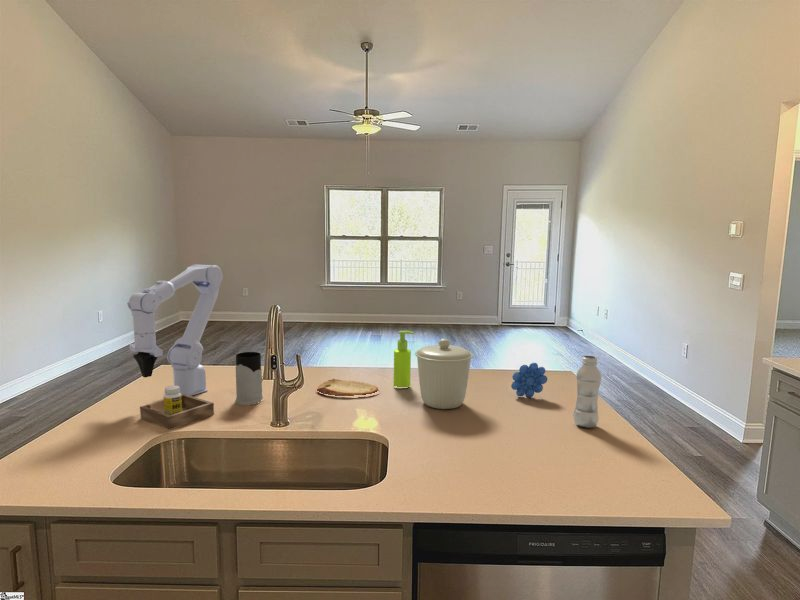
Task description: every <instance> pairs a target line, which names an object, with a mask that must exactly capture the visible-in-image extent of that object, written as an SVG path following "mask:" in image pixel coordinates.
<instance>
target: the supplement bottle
mask: <svg viewBox="0 0 800 600" xmlns="http://www.w3.org/2000/svg"><path fill="white" fill-rule="evenodd" d="M182 411H183V407H182V399H181V393H180V387H179V386H174V385H169V386H165V387H164V394H163V413H165V414H168V415H172V414H176V413H179V412H182Z"/></svg>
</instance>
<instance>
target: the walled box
mask: <svg viewBox="0 0 800 600" xmlns="http://www.w3.org/2000/svg"><path fill="white" fill-rule="evenodd" d="M181 399H182V408H187V407H188V408H187V409H186V410H182V412H179V413H176V414H172V415H168V414H165V413H164V412H162V411H159V410H156V409H154V408H152V407H151V404H145V405H142V406H139V410H140V411H139V412H140V420H144V421H145V422H149V423H152V424H153V425H156V426H158V427H162V428H165V429H168V430H173V429H174V428H178V427H181V426H183V425H187V424H190V423H192V422H196V421H199V420H201V419H204V418H207V417H211V416H213V415H215V412H214V411H215V408H214V402H211V401H208V400H205V399H202V398H199V397H195V396H194V395H192V396H189V395H186V394H183V395H181ZM184 406H185V407H184ZM190 408H191V409H190Z"/></svg>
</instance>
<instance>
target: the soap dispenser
mask: <svg viewBox="0 0 800 600" xmlns="http://www.w3.org/2000/svg"><path fill="white" fill-rule="evenodd" d="M398 334H399V339H398V340H397V348H396V349H394V350H393V387H394V386H397V387H409V386H410V387H411V366H412V365H411V362H412V361H411V360H412V359H411V358H412V357H411V356H412V351H411V349H409V348H408V339H406V334H409V335H414V334H415V332H414V331H411V330H398Z"/></svg>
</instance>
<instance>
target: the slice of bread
mask: <svg viewBox="0 0 800 600" xmlns="http://www.w3.org/2000/svg"><path fill="white" fill-rule="evenodd" d="M317 388H318V389H317ZM317 388H316V389H317V391H319V392H321V393H323V394H328V395H335V396H354V395H366V394H372V393H375V392H377V391H379V392H380V390H379V387H378V386H377V385H376V384H371V383H368V382H367V383H365V382H361V381H356V380H355V381H354V380H346V379H345V380H343V379H335V378H332V379H329V380H327V381H324V382H323V383H321V384H319V385H318V386H317Z"/></svg>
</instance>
